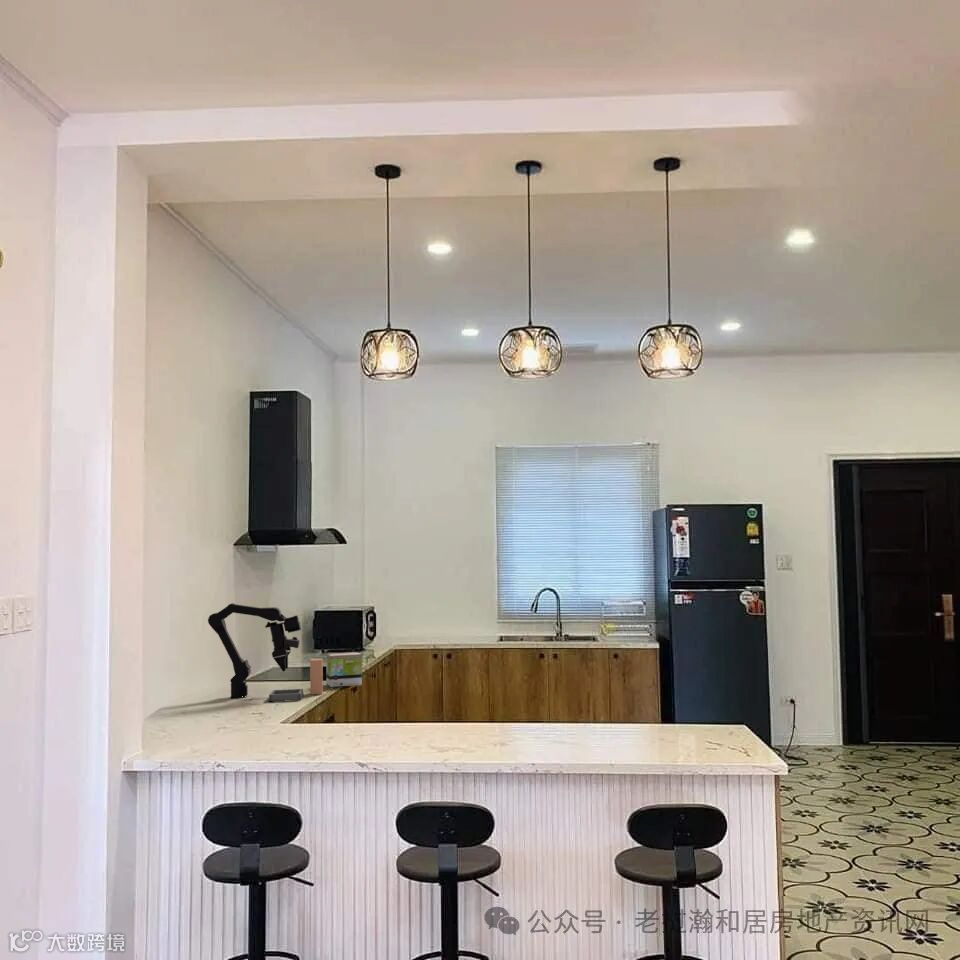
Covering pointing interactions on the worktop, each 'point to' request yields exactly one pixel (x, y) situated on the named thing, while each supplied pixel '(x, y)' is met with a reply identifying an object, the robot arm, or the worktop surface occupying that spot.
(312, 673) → the peach block
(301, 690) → the tray
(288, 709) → the worktop surface
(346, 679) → the tea box
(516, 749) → the worktop surface
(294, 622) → the robot arm
